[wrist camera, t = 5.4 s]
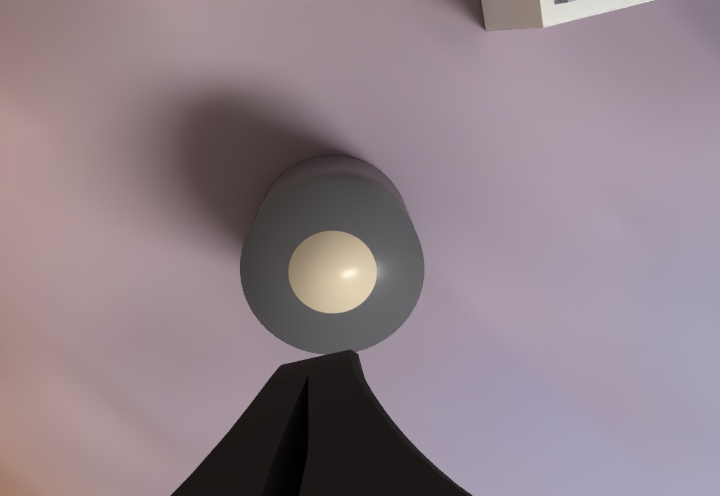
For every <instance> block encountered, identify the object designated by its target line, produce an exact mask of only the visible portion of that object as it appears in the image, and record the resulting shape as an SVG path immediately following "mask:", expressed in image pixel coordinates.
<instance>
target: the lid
mask: <svg viewBox="0 0 720 496" xmlns="http://www.w3.org/2000/svg"><path fill="white" fill-rule="evenodd" d="M572 1H576V0H554V3H555V4H561V3H567V2H572Z"/></svg>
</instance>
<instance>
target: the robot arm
mask: <svg viewBox="0 0 720 496" xmlns="http://www.w3.org/2000/svg"><path fill="white" fill-rule="evenodd" d="M171 496H472V495H471V494H470V493H468V492H467V491H465V490H464V489H463V488H461V487H460V486H458V485H457V484H456V483H455V482H453V481H452V480H451V479H450V478H449V477H448V476H446V475H445V474H444V473H443V472H442V471H441V470H439V469H438V468H437V467H436V466H435V465H434V464H433V463H432V462H431V461H430V460H429V459H427V458H426V457H425V456H424V455H423V454H422V453H421V452H420V451H419V450H418V449H417V448H416V447H415V446H414V445H413V444H412V443H411V441H410V440H409V439H408V438H407V437H406V436H405V435H404V434H403V432H402V431H401V430H400V429H399V428H398V427H397V425H396V424H395V423H394V422H393V421H392V419H391V418H390V417H389V415H388V414H387V413H386V411H385V410H384V409H383V407H382V406H381V404H380V403H379V401H378V400H377V398H376V397H375V395H374V394H373V392H372V391H371V389H370V387H369V386H368V384H367V382H366V380H365V378H364V374H363V370H362V367H361V363H360V359H359V355H358V354H357V353H355V352H354V351H352V350H351V349H349V350H345V351H341V352H336V353H332V354H328V355H323V356H319V357H314V358H310V359H306V360H301V361H297V362H292V363H288V364H284V365H281V366H280V367H279V368H278V369H277V370H276V371H275V373H274V374H273V375H272V376H271V378H270V379H269V380H268V382H267V383H266V384H265V386H264V387H263V388H262V390H261V391H260V392H259V394H258V395H257V396H256V397H255V399H254V400H253V401H252V403H251V404H250V405H249V407H248V408H247V409H246V410H245V412H244V413H243V414H242V415H241V417H240V418H239V419H238V420H237V422H236V423H235V424H234V426H233V427H232V428H231V429H230V431H229V432H228V433H227V434H226V435H225V436H224V438H223V439H222V440H221V441H220V442H219V443H218V444H217V446H216V447H215V448H214V449H213V450H212V451H211V452H210V454H209V455H208V456H207V457H206V458H205V459H204V460H203V462H202V463H201V464H200V465H199V466H198V467H197V468H196V470H195V471H194V472H193V473H192V474H191V475H190V476H189V477H188V478H187V479H186V480H185V481H184V482H183V483H182V484H181V485H180V486H179V487H178V488H177V489H176V490H175V491H174V492H173V493H172V495H171Z"/></svg>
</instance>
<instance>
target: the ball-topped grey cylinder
mask: <svg viewBox="0 0 720 496" xmlns="http://www.w3.org/2000/svg"><path fill="white" fill-rule="evenodd" d="M240 276H241V284H242V288H243V292H244V295H245V297H246V300H247V302H248V304H249V306H250V308H251V310H252V312H253V313H254V315H255V316H256V317H257V319H258V320H259V321H260V323H261V324H262V325H263V326H264V327H265V328H266V329H267V330H268V331H269V332H271V333H272V334H273V335H275V336H276V337H277V338H279V339H280V340H282V341H284V342H285V343H287V344H289V345H291V346H293V347H296V348H298V349H301V350H304V351H308V352H312V353H318V354H332V353H336V352H341V351H345V350H349V349H351V350H352V351H354V352H357V351H360V350H364V349H366V348H369V347H371V346H374V345H376V344H378V343H379V342H381V341H383V340H385V339H386V338H387V337H389V336H390V335H391V334H393V333H394V332H395V331H396V330H397V329H398V328H399V327H400V326H401V325H402V324H403V323H404V322H405V321H406V319H407V318H408V317H409V316H410V314H411V312H412V311H413V309H414V307H415V306H416V303H417V301H418V299H419V296H420V293H421V289H422V286H423V279H424V258H423V252H422V248H421V245H420V241H419V239H418V236H417V234H416V231H415V229H414V226H413V224H412V221H411V219H410V216H409V214H408V211H407V209H406V206H405V204H404V201H403V199H402V197H401V195H400V193H399V191H398V190H397V188H396V187H395V185H394V184H393V183H392V182H391V180H390V179H389V178H388V177H387V176H386V175H385V174H383V173H382V172H381V171H380V170H378V169H377V168H375V167H374V166H372V165H370V164H368V163H367V162H365V161H362V160H359V159H356V158H353V157H348V156H341V155H324V156H318V157H314V158H310V159H307V160H304V161H302V162H300V163H298V164H296V165H294V166H293V167H291V168H290V169H288V170H287V171H286V172H284V173H283V174H282V175H281V176H280V177H279V178H278V179H277V180H276V181H275V182H274V183H273V185H272V186H271V188H270V189H269V191H268V192H267V195H266V197H265V199H264V201H263V203H262V205H261V207H260V209H259V211H258V213H257V216H256V218H255V220H254V222H253V224H252V226H251V228H250V230H249V233H248V235H247V237H246V239H245V243H244V246H243V249H242V254H241V260H240Z"/></svg>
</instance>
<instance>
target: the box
mask: <svg viewBox="0 0 720 496" xmlns="http://www.w3.org/2000/svg"><path fill="white" fill-rule="evenodd" d="M649 1H653V0H576V1H572V2H567V3H561V4H555V3H554V0H481V3H482V10H483V16H484V22H485V29H486V31H492V30H510V29H528V28H544V27H548V26H552V25H556V24H560V23H564V22H568V21H572V20H576V19H580V18H584V17H588V16H592V15H597V14H601V13H605V12H609V11H613V10H617V9H621V8H625V7H629V6H633V5H637V4H641V3H645V2H649Z"/></svg>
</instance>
